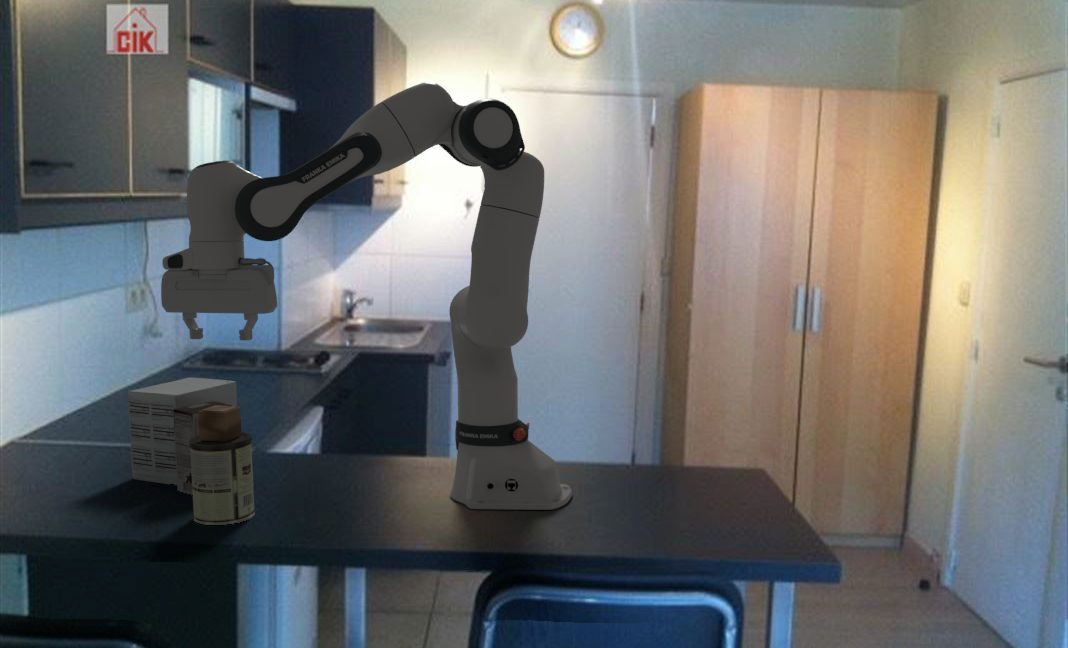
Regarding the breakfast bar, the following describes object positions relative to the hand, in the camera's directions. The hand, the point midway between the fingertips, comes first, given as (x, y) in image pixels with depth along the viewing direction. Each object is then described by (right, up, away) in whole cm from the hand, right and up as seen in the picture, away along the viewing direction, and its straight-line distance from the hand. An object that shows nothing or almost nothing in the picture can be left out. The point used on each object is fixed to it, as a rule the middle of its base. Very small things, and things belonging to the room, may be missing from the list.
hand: (221, 339), depth 165 cm
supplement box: (-18, -28, +33) cm, 47 cm away
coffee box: (-9, -29, +20) cm, 37 cm away
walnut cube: (-1, -17, +1) cm, 17 cm away
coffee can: (0, -31, +3) cm, 31 cm away
